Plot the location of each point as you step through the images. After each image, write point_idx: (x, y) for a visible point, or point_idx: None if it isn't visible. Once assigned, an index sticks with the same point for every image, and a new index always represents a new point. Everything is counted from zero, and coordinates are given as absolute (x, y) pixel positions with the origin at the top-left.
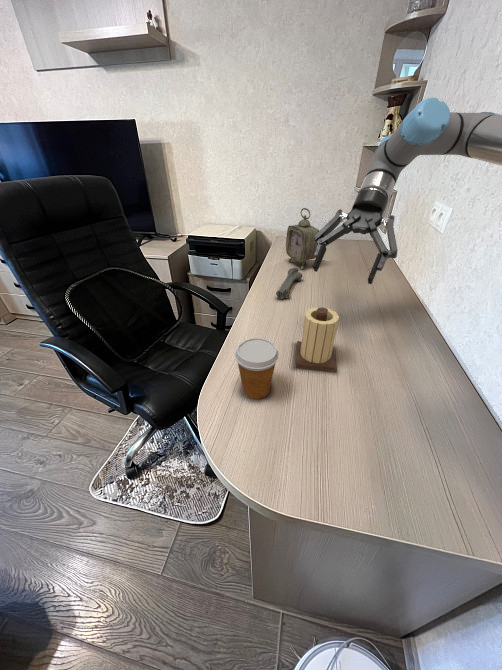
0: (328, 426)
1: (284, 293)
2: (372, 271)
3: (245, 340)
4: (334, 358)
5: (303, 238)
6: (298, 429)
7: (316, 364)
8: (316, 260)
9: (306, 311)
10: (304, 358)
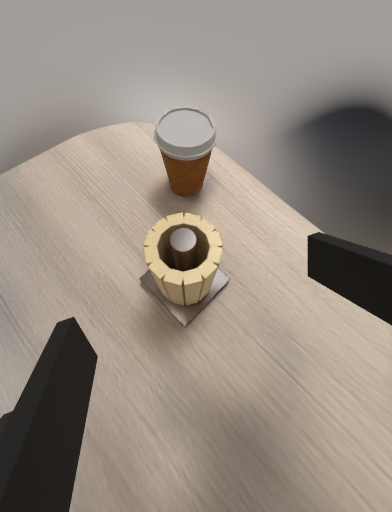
0: (92, 207)
1: None
2: (52, 350)
3: (213, 125)
4: (155, 295)
5: None
6: (113, 183)
7: None
8: (339, 243)
9: (216, 231)
10: None
